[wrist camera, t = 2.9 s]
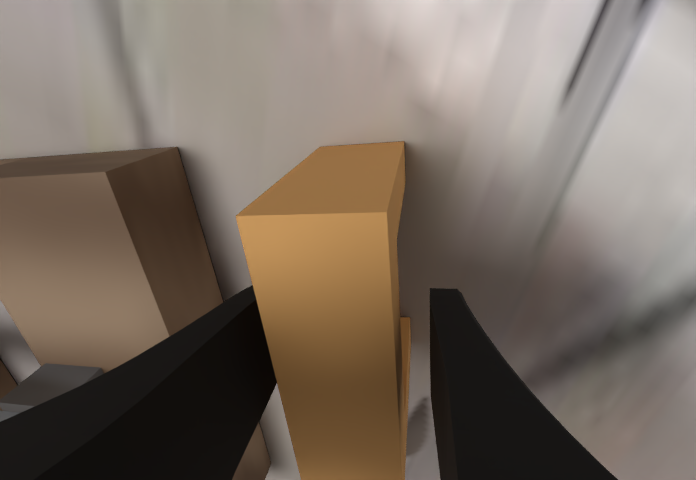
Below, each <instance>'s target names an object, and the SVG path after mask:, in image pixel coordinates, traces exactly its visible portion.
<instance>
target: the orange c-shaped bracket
mask: <svg viewBox="0 0 696 480" xmlns="http://www.w3.org/2000/svg"><path fill="white" fill-rule="evenodd" d="M405 182H406V181H405V151H404V141H401V142H386V143H371V144H356V145H341V146H326V147H319V148H318V149H317V150H315V151H314V152H313V153H312V154H311V155H309V156H308V157H307V158H306V159H304V160H303V161H302V162H301V163H300V164H298V165H297V166H296V167H295V168H294V169H292V170H291V171H290V172H289V173H287V174H286V175H285V176H284V177H283V178H281V179H280V180H279V181H278V182H276V183H275V184H274V185H273V186H272V187H270V188H269V189H268V190H267V191H265V192H264V193H263V194H262V195H261V196H259V197H258V198H257V199H256V200H255V201H253V202H252V203H251V204H250V205H248V206H247V207H246V208H245V209H244V210H242V211H241V212H240V213H239V214H237V215H236V220H237V224H238V228H239V232H240V236H241V240H242V244H243V248H244V252H245V256H246V260H247V264H248V268H249V272H250V276H251V280H252V284H253V288H254V292H255V296H256V300H257V304H258V308H259V312H260V316H261V320H262V324H263V328H264V332H265V336H266V340H267V344H268V348H269V352H270V356H271V360H272V364H273V368H274V372H275V376H276V380H277V384H278V388H279V392H280V396H281V400H282V404H283V408H284V413H285V417H286V421H287V425H288V429H289V433H290V437H291V441H292V445H293V449H294V453H295V457H296V461H297V465H298V469H299V473H300V477H301V480H405V461H406V440H407V418H408V396H409V374H410V353H411V331H410V317H400V300H399V279H398V258H397V235H398V228H399V222H400V215H401V209H402V202H403V196H404V189H405Z"/></svg>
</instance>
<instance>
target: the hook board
mask: <svg viewBox="0 0 696 480" xmlns="http://www.w3.org/2000/svg"><path fill="white" fill-rule="evenodd" d="M0 300H1V301H2V303H3V305H4V306H5V308H6V310H7V311H8V313H9V314H10V316H11V318H12V319H13V321H14V323H15V324H16V326H17V328H18V329H19V331H20V332H21V334H22V336H23V337H24V339H25V341H26V342H27V344H28V346H29V347H30V349H31V351H32V352H33V354H34V355H35V357H36V359H37V360H38V362H39V364H40V365H41V367H40V368H39V369H38V370H37V371H35V372H34V373H33V374H32V375H30V376H29V377H28V378H27V379H25V380H24V381H23V382H22V383H20V384H19V385H17V384H16V382H15V381H14V379H13V378H12V376H11V375H10V373H9V372H8V370H7V369H6V367H5V366H4V364H3V363H2V361H1V360H0V422H1V421H3V420H5V419H8V418H10V417H12V416H15V415H17V414H19V413H21V412H23V411H26V410H28V409H30V408H32V407H35V406H37V405H39V404H41V403H44V402H46V401H48V400H50V399H52V398H55V397H57V396H59V395H61V394H64V393H66V392H68V391H70V390H72V389H74V388H76V387H79V386H81V385H83V384H85V383H87V382H89V381H90V380H92V379H94V378H96V377H98V376H100V375H102V374H104V373H106V372H108V371H110V370H112V369H114V368H116V367H118V366H119V365H121V364H123V363H125V362H127V361H129V360H130V359H132V358H134V357H136V356H138V355H139V354H141V353H143V352H144V351H146V350H148V349H149V348H151V347H153V346H154V345H156V344H158V343H159V342H161V341H163V340H164V339H166V338H168V337H169V336H171V335H173V334H174V333H176V332H178V331H179V330H181V329H183V328H184V327H186V326H187V325H189V324H191V323H192V322H194V321H195V320H197V319H198V318H200V317H201V316H203V315H205V314H206V313H208V312H209V311H211V310H212V309H214V308H215V307H217V306H219V305H220V304H222V303H223V300H222V296H221V293H220V289H219V286H218V283H217V279H216V276H215V273H214V269H213V266H212V263H211V259H210V256H209V252H208V249H207V246H206V242H205V239H204V236H203V232H202V229H201V225H200V222H199V219H198V215H197V212H196V209H195V205H194V202H193V199H192V195H191V192H190V188H189V185H188V182H187V178H186V175H185V172H184V168H183V165H182V161H181V158H180V155H179V151H178V148H177V147H170V148H156V149H142V150H128V151H114V152H100V153H86V154H73V155H59V156H45V157H31V158H17V159H3V160H0ZM270 465H271V461H270V458H269V455H268V451H267V448H266V444H265V441H264V438H263V434H262V431H261V428H260V424H259V423H258V425H257V427H256V429H255V431H254V433H253V435H252V437H251V439H250V442H249V444H248V446H247V448H246V450H245V452H244V454H243V456H242V459H241V461H240V463H239V465H238V467H237V469H236V472H235V474H234V476H233V479H232V480H265V478H266V475H267V473H268V470H269V467H270Z"/></svg>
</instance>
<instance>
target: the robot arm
mask: <svg viewBox="0 0 696 480" xmlns="http://www.w3.org/2000/svg"><path fill="white" fill-rule="evenodd" d="M430 375H431V401H432V410H433V418H434V427H435V435H436V444H437V452H438V461H439V469H440V478H441V480H618V479H617V478H616V477H614V476H613V475H612V474H611V473H610V472H609V471H608V470H607V469H606V468H605V467H604V466H603V465H601V464H600V463H599V462H598V461H597V460H596V459H595V458H594V457H593V456H592V455H591V454H590V453H589V452H588V451H587V450H586V449H585V448H584V447H583V446H582V445H581V444H580V443H579V442H578V441H577V440H576V439H575V438H574V437H573V436H572V435H571V434H570V433H569V432H568V431H567V430H566V429H565V428H564V427H563V426H562V425H561V423H560V422H559V421H558V420H557V419H556V418H555V417H554V416H553V415H552V414H551V413H550V412H549V411H548V410H547V409H546V408H545V406H544V405H543V404H542V403H541V402H540V401H539V400H538V399H537V398H536V396H535V395H534V394H533V393H532V392H531V391H530V390H529V388H528V387H527V386H526V385H525V384H524V382H523V381H522V380H521V379H520V378H519V376H518V375H517V374H516V373H515V372H514V370H513V369H512V368H511V367H510V365H509V364H508V363H507V362H506V360H505V359H504V358H503V356H502V355H501V354H500V352H499V351H498V350H497V348H496V347H495V346H494V344H493V343H492V341H491V340H490V339H489V337H488V336H487V335H486V333H485V332H484V330H483V329H482V327H481V326H480V324H479V323H478V321H477V320H476V318H475V317H474V315H473V313H472V312H471V310H470V308H469V307H468V305H467V303H466V301H465V299H464V297H463V295H462V293H461V292H460V291H459V290H458V289H436V288H430ZM276 383H277V380H276V376H275V372H274V368H273V364H272V360H271V356H270V352H269V348H268V344H267V340H266V336H265V332H264V328H263V324H262V320H261V316H260V312H259V308H258V304H257V300H256V296H255V292H254V288H253V285H252V286H250V287H248V288H246V289H244V290H243V291H241V292H239V293H238V294H236V295H234V296H233V297H231V298H230V299H228V300H226V301H225V302H223V303H222V304H220V305H219V306H217V307H215V308H214V309H212V310H211V311H209V312H208V313H206V314H205V315H203V316H201V317H200V318H198V319H197V320H195V321H194V322H192V323H191V324H189V325H187V326H186V327H184V328H183V329H181V330H179V331H178V332H176V333H174V334H173V335H171V336H169V337H168V338H166V339H164V340H163V341H161V342H159V343H158V344H156V345H154V346H153V347H151V348H149V349H148V350H146V351H144V352H143V353H141V354H139V355H138V356H136V357H134V358H132V359H130V360H129V361H127V362H125V363H123V364H121V365H119V366H118V367H116V368H114V369H112V370H110V371H108V372H106V373H104V374H102V375H100V376H98V377H96V378H94V379H92V380H90V381H89V382H87V383H85V384H83V385H81V386H79V387H76V388H74V389H72V390H70V391H68V392H66V393H64V394H61V395H59V396H57V397H55V398H52V399H50V400H48V401H46V402H44V403H41V404H39V405H37V406H35V407H32V408H30V409H28V410H26V411H23V412H21V413H19V414H17V415H15V416H12V417H10V418H8V419H5V420H3V421H1V422H0V480H232V479H233V476H234V474H235V472H236V469H237V467H238V465H239V463H240V461H241V459H242V456H243V454H244V452H245V450H246V448H247V446H248V444H249V442H250V439H251V437H252V435H253V433H254V431H255V429H256V427H257V425H258V423H259V420H260V418H261V416H262V414H263V412H264V410H265V408H266V405H267V403H268V401H269V399H270V397H271V394H272V392H273V390H274V388H275V386H276Z"/></svg>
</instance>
